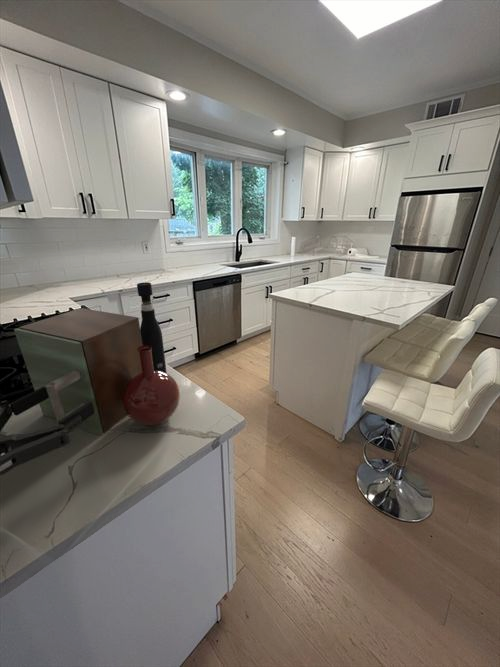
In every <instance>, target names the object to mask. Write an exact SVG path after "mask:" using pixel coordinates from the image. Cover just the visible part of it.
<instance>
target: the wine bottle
mask: <svg viewBox="0 0 500 667" xmlns="http://www.w3.org/2000/svg"><path fill="white" fill-rule="evenodd" d="M136 289H137V294H138V296H139V297H140V298H141V299H140V300H141V305H140V307H141V310H140V314H141V324H140V331H141V338H142V344H143V346H144V345H150V346H152V350H151V352H152V359H153V366H154V370H158V371H162V372H165V373H167V374H168V372H167V364H166V357H165V348H164V338H163V332H162V329H161V327H160V324H159V322H158V320H157V318H156V312H155V308H154V304H153V302H152V297H151V296H153V295H154V294H153V286H152V283H151V282H138V283H137V284H136Z"/></svg>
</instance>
